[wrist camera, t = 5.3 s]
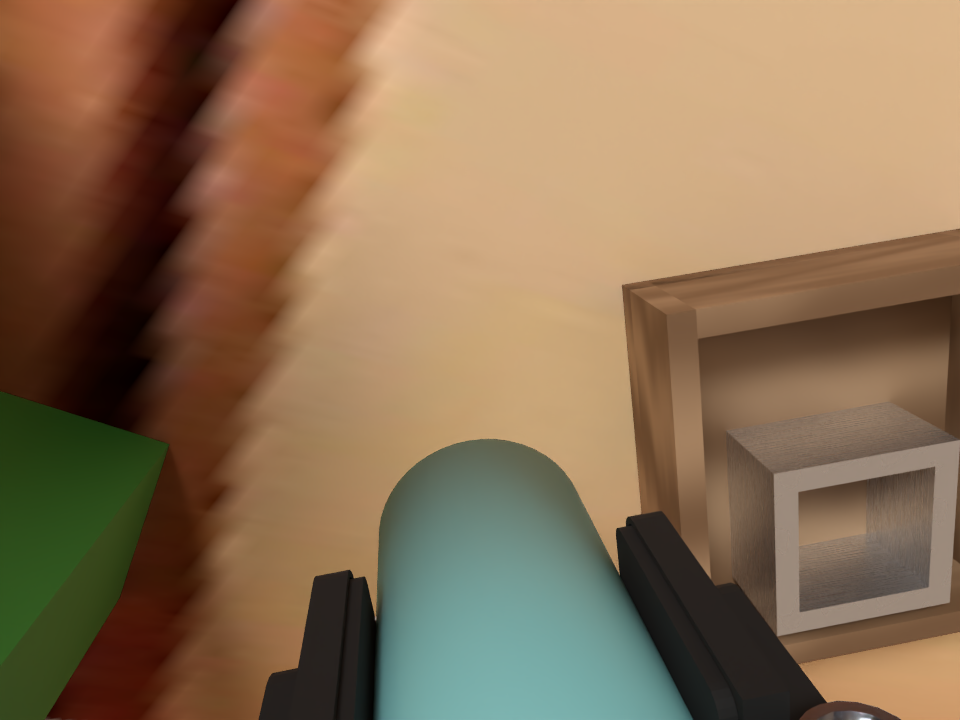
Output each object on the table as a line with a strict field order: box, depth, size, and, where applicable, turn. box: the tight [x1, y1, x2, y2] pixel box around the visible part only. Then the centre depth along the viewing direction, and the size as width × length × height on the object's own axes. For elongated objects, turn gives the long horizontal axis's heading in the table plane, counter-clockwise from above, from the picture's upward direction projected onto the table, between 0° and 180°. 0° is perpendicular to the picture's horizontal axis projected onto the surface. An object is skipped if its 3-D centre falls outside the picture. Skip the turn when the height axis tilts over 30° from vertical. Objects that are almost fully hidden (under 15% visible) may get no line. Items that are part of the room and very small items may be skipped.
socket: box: [726, 402, 960, 636], centre depth 29 cm, size 7×7×4 cm
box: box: [622, 229, 960, 664], centre depth 29 cm, size 15×14×5 cm
